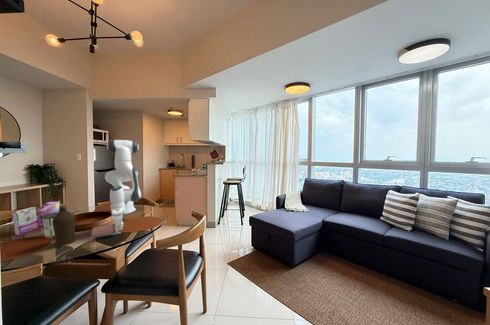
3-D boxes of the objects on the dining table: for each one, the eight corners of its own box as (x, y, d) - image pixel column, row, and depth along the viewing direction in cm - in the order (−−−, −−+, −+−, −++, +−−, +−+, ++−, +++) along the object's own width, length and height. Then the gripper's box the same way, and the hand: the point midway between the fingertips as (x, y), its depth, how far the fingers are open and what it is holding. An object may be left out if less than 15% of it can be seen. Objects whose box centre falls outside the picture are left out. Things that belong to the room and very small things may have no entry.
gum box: (51, 225, 157) (49, 208, 155) (37, 227, 153) (35, 210, 152) (61, 215, 178) (59, 200, 176) (49, 217, 174) (47, 201, 173)
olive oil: (68, 246, 126) (65, 207, 124) (50, 247, 125) (45, 208, 123) (80, 238, 137) (77, 202, 134) (63, 239, 136) (60, 202, 133)
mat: (91, 232, 146) (91, 231, 146) (137, 224, 160) (136, 223, 160) (89, 239, 135) (89, 238, 135) (137, 230, 149) (137, 229, 149)
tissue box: (55, 230, 149) (53, 211, 147) (68, 231, 148) (66, 212, 146) (39, 237, 139) (37, 217, 137) (53, 237, 138) (51, 217, 136)
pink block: (93, 232, 144) (93, 227, 144) (114, 229, 150) (113, 223, 150) (92, 236, 138) (91, 231, 138) (113, 232, 144) (113, 227, 144)
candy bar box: (33, 228, 152) (31, 206, 151) (39, 228, 151) (36, 207, 150) (14, 235, 142) (11, 212, 140) (19, 235, 141) (17, 212, 139)
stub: (115, 229, 150) (115, 222, 149) (123, 227, 152) (123, 221, 152) (115, 232, 145) (114, 225, 145) (123, 230, 148) (122, 223, 147)
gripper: (113, 205, 154) (115, 223, 156) (111, 214, 137) (113, 234, 138) (123, 204, 158) (124, 221, 159) (122, 212, 140) (124, 232, 141)
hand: (119, 227), depth 149 cm, fingers closed on stub, 5 cm apart
